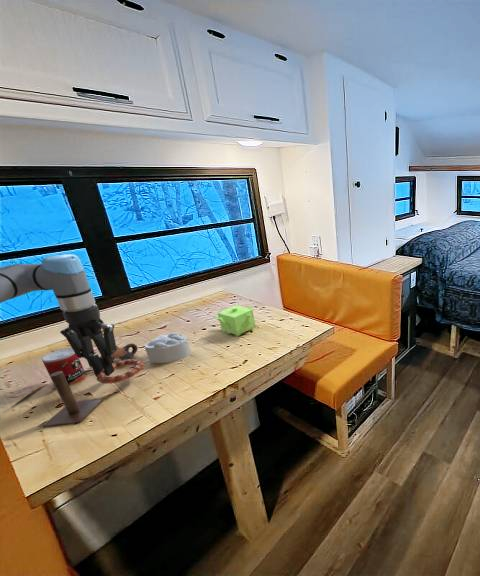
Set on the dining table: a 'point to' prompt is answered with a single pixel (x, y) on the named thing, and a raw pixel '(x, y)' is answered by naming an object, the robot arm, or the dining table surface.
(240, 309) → the knobby lime green cube
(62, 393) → the post
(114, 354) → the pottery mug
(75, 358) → the canned food
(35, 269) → the robot arm
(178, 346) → the lumpy-topped squat cylinder
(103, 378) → the ring
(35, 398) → the dining table surface
